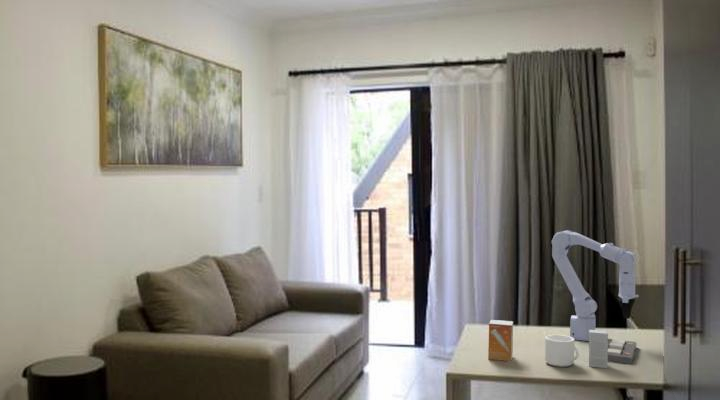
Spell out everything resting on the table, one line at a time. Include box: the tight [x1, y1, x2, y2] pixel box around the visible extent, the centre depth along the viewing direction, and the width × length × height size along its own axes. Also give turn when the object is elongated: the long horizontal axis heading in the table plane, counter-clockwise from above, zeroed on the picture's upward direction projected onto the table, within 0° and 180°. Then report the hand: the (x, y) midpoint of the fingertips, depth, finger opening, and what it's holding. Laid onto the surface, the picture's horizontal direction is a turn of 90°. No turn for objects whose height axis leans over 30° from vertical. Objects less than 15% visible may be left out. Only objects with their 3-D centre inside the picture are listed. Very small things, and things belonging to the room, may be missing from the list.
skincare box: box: [588, 329, 609, 369], centre depth 219 cm, size 6×4×12 cm
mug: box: [544, 334, 579, 368], centre depth 221 cm, size 12×10×9 cm
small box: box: [487, 319, 514, 362], centre depth 228 cm, size 8×6×13 cm
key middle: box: [609, 342, 623, 350], centre depth 234 cm, size 4×4×2 cm
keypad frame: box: [608, 338, 637, 365], centre depth 234 cm, size 12×23×2 cm, turn 153°
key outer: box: [608, 348, 621, 355], centre depth 228 cm, size 4×4×2 cm
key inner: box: [612, 338, 626, 345], centre depth 241 cm, size 4×4×2 cm
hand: (626, 318), depth 245 cm, fingers closed
